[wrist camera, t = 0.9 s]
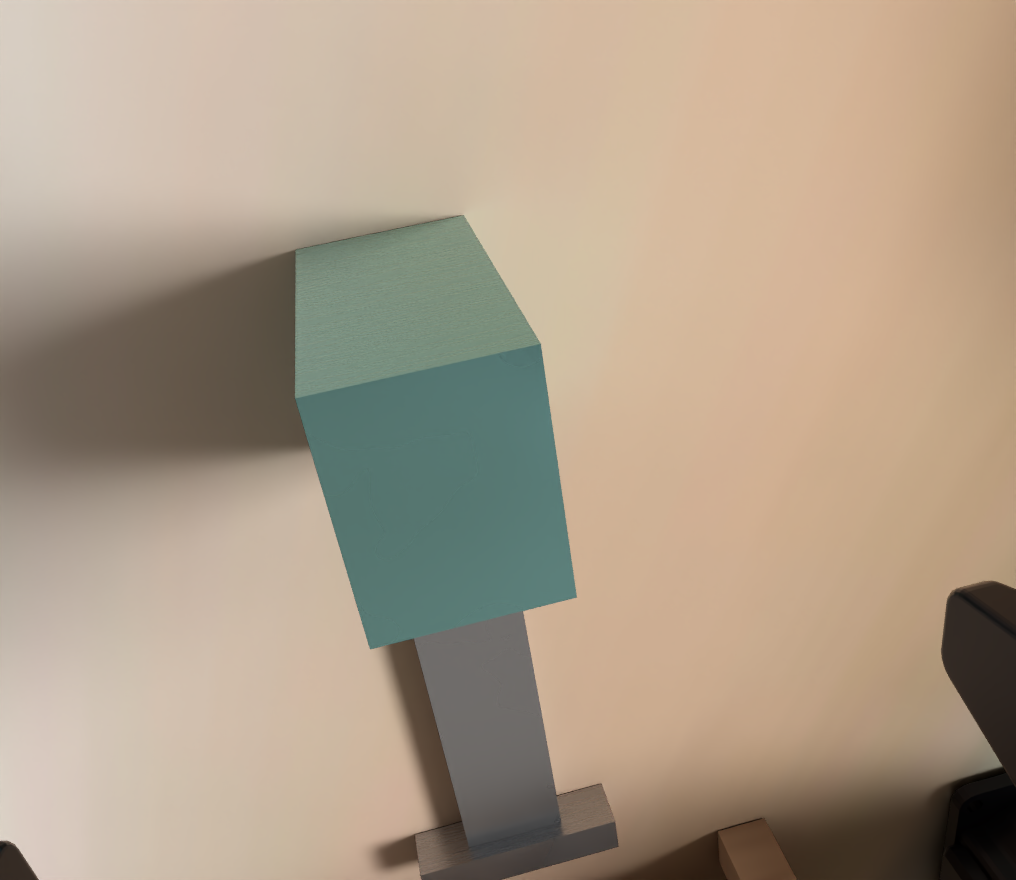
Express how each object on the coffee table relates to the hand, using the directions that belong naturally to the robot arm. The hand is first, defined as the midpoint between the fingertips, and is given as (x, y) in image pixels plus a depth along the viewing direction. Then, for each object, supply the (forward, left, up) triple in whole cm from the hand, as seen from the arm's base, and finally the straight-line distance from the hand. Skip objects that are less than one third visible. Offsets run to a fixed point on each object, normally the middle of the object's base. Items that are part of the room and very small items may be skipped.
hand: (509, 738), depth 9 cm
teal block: (0, +6, -10) cm, 12 cm away
